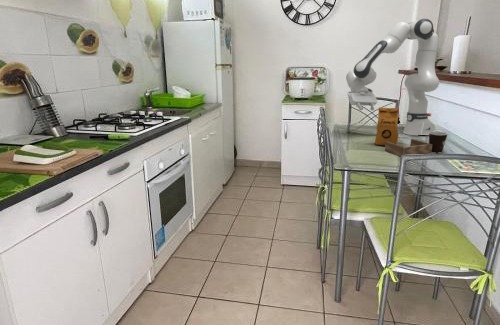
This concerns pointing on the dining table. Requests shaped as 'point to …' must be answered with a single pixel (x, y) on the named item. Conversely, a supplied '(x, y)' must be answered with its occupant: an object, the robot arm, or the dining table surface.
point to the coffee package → (387, 126)
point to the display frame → (409, 148)
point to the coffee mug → (437, 141)
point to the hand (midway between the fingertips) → (367, 109)
